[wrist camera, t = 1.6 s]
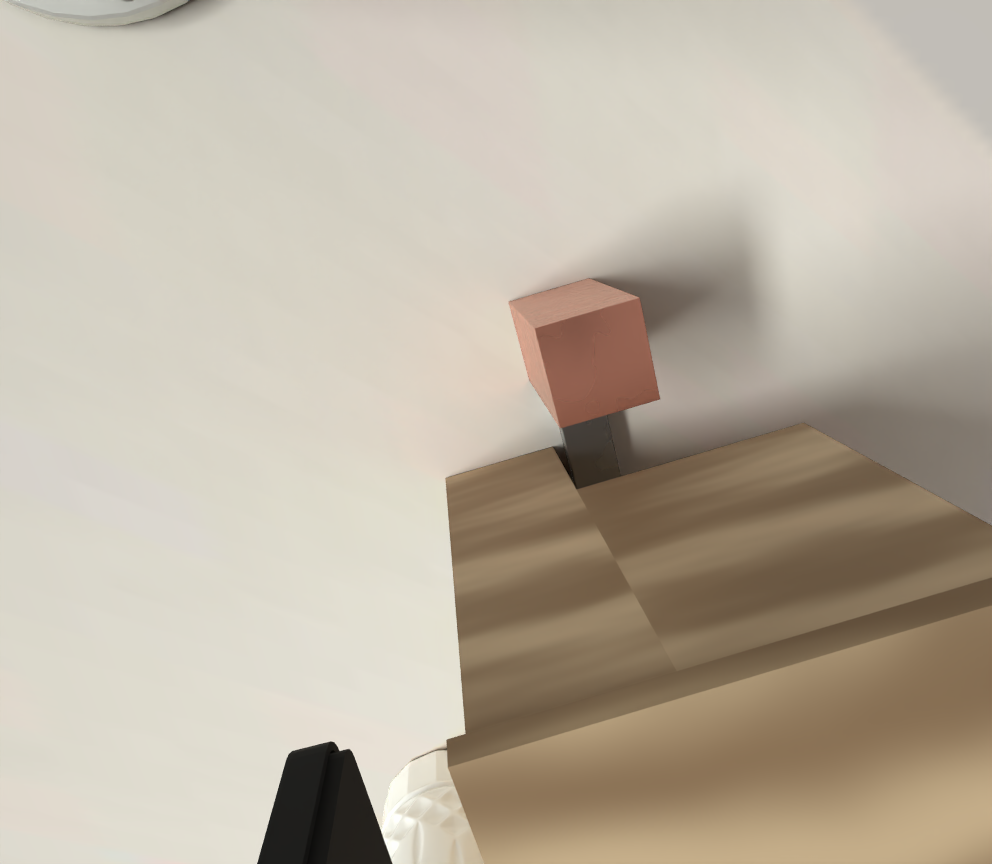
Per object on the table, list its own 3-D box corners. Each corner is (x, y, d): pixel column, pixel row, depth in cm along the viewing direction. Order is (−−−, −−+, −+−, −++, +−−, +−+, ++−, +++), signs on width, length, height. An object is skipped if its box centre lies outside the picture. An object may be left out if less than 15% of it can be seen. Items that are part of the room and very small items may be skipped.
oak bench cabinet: (435, 476, 30) (447, 767, 14) (744, 386, 30) (1094, 574, 14) (526, 755, 35) (610, 1195, 20) (789, 677, 36) (1084, 1050, 20)
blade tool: (508, 301, 28) (534, 328, 22) (589, 278, 28) (639, 297, 22) (614, 701, 35) (658, 815, 28) (679, 682, 35) (738, 791, 28)
